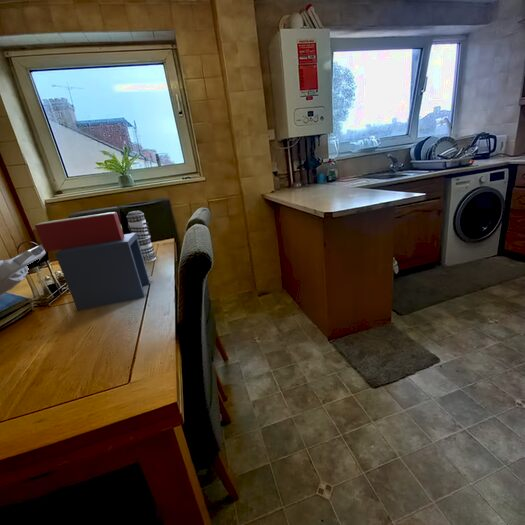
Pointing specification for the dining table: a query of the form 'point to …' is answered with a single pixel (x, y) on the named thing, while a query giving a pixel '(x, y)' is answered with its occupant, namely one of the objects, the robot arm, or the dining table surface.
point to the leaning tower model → (141, 234)
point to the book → (79, 231)
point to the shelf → (104, 272)
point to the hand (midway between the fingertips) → (38, 247)
